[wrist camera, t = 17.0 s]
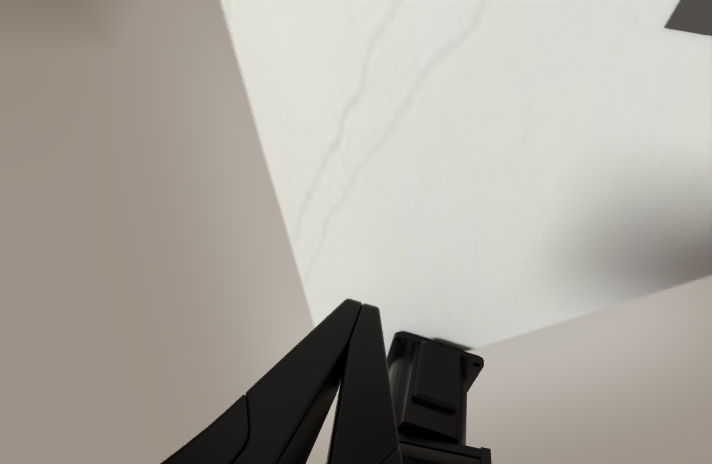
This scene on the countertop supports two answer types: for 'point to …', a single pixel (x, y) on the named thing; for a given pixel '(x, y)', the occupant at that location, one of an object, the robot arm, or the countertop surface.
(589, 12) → the countertop surface
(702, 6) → the floppy disk
